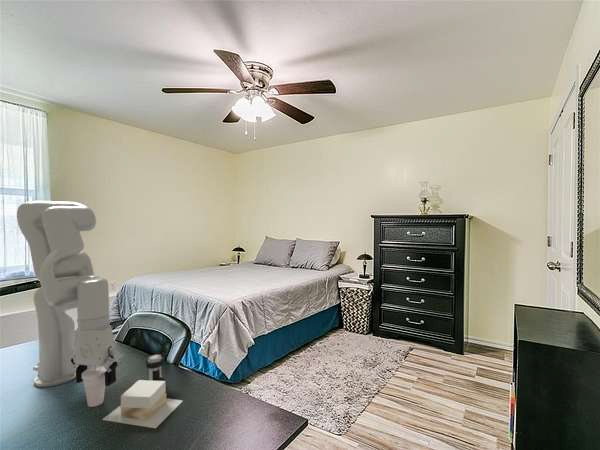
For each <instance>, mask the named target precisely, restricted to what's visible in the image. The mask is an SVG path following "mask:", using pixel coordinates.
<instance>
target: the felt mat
mask: <svg viewBox="0 0 600 450" xmlns="http://www.w3.org/2000/svg"><path fill="white" fill-rule="evenodd" d="M182 403H183V399H182V400H181V399H173V398H167V397H166V404H165V405H164V406H163V407H162V408H161V409H159V410H158V411H157V412H156V413H155V414H154V415H153V416H152V417H151V418H150V419H149V420H148V421H144V420H138V419H132V418H125V417H121V404H120V405H119V406H118V407H116V408H115V409H114V410H112V411H111V412H110V413H109V414H107V415H106V416H104V417H103V418H102V419H101V420H102V421H106V422H107V421H108V422H112V423H120V424H126V425H133V426H139V427H145V428H151V429H157V428H158V427H159V425H161V423H163V422H164V421H165V420H166V418H167V417H168V416H169V415H171V413H172V412H174V411H175V410H176V408H178V406H180V405H181V404H182Z"/></svg>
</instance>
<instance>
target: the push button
mask: <svg viewBox="0 0 600 450" xmlns="http://www.w3.org/2000/svg"><path fill="white" fill-rule="evenodd" d="M164 361H165V356H164V357H163V356H162V355H161V354H153V355H150V356H149V357H148V358H147V360H145V362H144V363H145V366H146V368H147V369H148V372H149V373H148V377H149V378H148V380H150V381H165V382H166V379H165V378H164V377H163V375H162V366H163V365H164V363H165V362H164Z"/></svg>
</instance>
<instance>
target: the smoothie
mask: <svg viewBox="0 0 600 450" xmlns="http://www.w3.org/2000/svg"><path fill="white" fill-rule="evenodd" d="M105 372H107V371H106V369H105V368H104V366H103V365H102V366H91V367H90V368H87V370H85V371H84V372H83V373H82V379H83V381H82V382H83V386H84V391H85V392H84V393H85V396H86V401H87V402H86V403H87V406H88V407H90V408H92V407H97V406H100V405H101V404H103V403H104V399H105V391H106V386H105Z"/></svg>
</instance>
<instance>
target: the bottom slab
mask: <svg viewBox="0 0 600 450" xmlns="http://www.w3.org/2000/svg"><path fill="white" fill-rule="evenodd" d="M166 398H167V392H166V391H165V393H164V394H163V395H162V396H161V397H160V398H159V399H158V400H157V402H156V403H155V404H154V405H153V406H152V407H151V408H128V407H121V417H125V418H132V419H138V420H144V421H148V420H149V419H150V418H151V417H152V416H153V415H154V414H155V413H156V412H157V411H158V410H159V409H161V408H162V407H163V406H164V405H165V404H166Z"/></svg>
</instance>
